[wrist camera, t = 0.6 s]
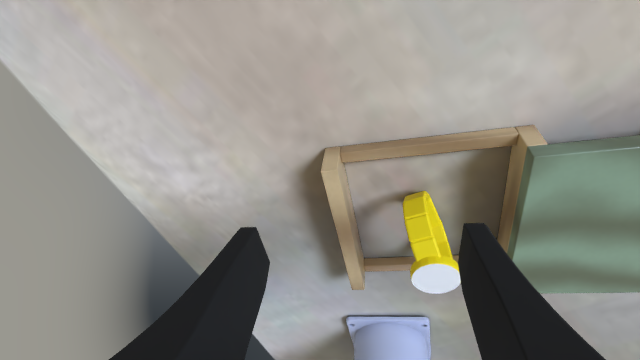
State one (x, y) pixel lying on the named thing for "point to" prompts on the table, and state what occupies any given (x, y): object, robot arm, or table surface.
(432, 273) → the watch
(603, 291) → the step shelf
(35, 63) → the table surface
